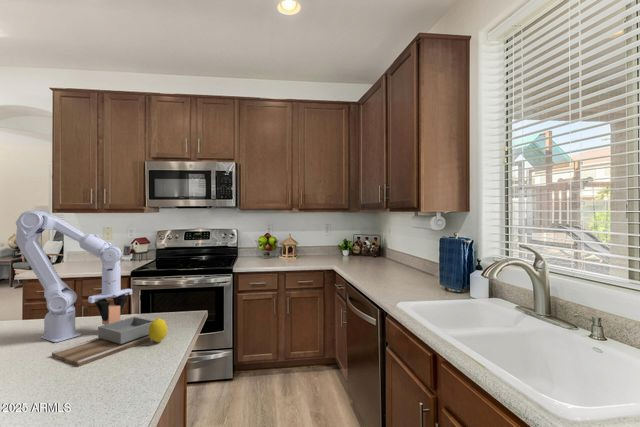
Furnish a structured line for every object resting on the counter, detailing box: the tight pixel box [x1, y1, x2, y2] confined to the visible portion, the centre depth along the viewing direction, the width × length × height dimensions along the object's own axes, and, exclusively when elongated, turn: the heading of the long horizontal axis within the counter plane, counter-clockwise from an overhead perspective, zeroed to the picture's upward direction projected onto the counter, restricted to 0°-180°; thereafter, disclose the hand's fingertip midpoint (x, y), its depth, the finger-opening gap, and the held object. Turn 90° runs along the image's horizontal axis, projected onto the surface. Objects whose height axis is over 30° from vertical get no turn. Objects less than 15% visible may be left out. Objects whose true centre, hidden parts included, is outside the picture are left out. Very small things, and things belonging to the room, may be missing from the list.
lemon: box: [149, 317, 168, 344], centre depth 114 cm, size 6×6×8 cm
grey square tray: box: [97, 315, 155, 344], centre depth 116 cm, size 12×13×4 cm
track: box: [51, 334, 153, 367], centre depth 111 cm, size 14×27×4 cm, turn 152°
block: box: [101, 303, 121, 325], centre depth 124 cm, size 4×4×6 cm
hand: (111, 318), depth 124 cm, fingers closed on block, 4 cm apart
